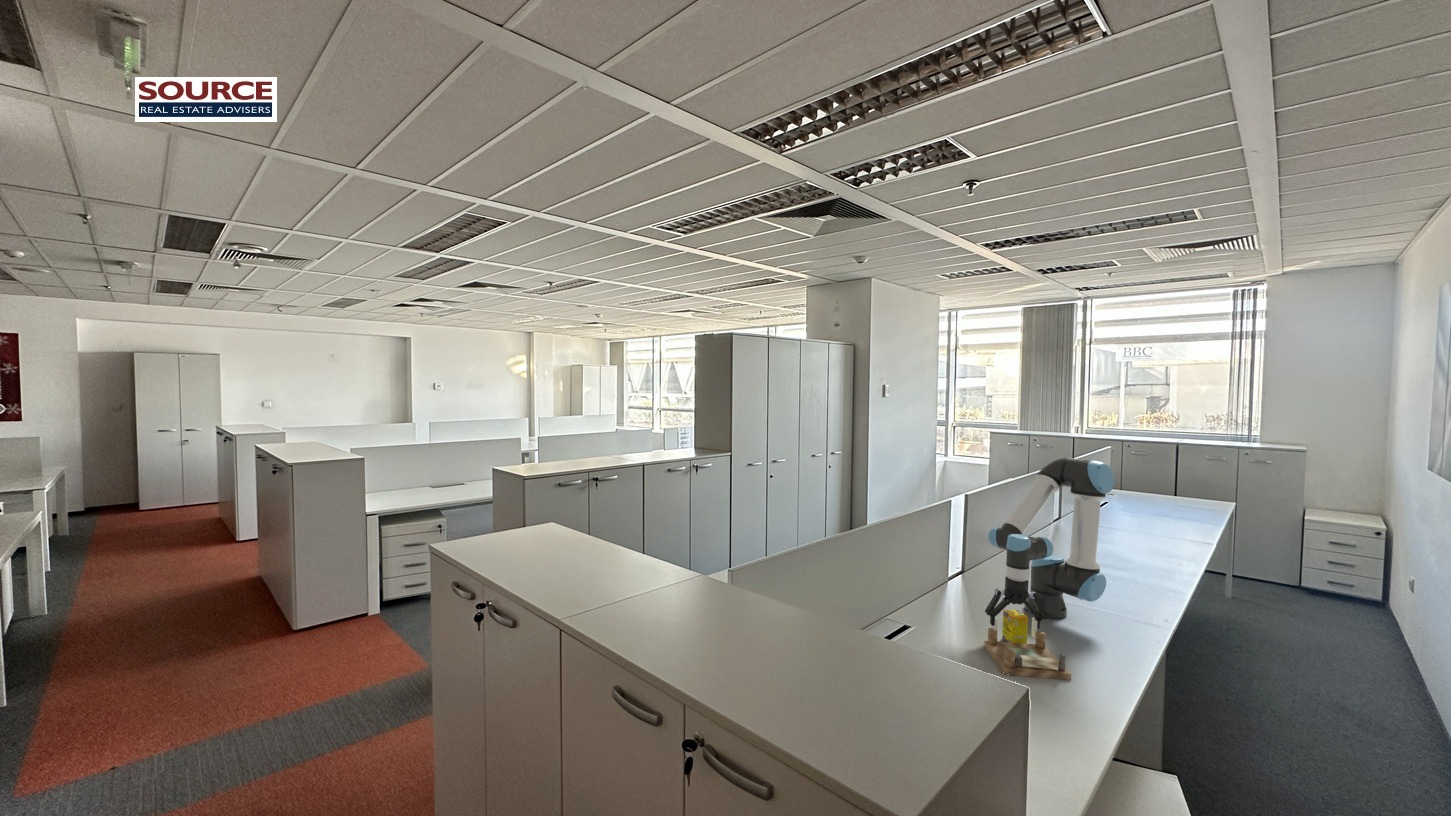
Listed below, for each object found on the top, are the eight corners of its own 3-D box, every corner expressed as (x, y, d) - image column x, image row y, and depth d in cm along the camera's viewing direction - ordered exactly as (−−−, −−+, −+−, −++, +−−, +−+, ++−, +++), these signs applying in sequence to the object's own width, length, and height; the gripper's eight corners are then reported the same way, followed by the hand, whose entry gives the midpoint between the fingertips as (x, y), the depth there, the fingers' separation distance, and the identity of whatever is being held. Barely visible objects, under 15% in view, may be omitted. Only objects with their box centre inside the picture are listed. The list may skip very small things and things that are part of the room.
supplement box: (1001, 638, 208) (1002, 609, 207) (1017, 638, 208) (1018, 609, 208) (1011, 646, 202) (1012, 616, 201) (1027, 646, 202) (1028, 616, 202)
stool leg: (1055, 666, 183) (1055, 658, 183) (1058, 670, 180) (1058, 662, 180) (1012, 661, 185) (1013, 654, 185) (1015, 665, 183) (1015, 657, 183)
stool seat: (1043, 650, 199) (1044, 630, 199) (1071, 679, 179) (1072, 658, 179) (984, 646, 202) (985, 627, 201) (1004, 674, 182) (1005, 653, 181)
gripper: (1048, 576, 206) (1045, 633, 207) (977, 572, 209) (974, 628, 210) (1058, 584, 199) (1055, 643, 200) (984, 579, 202) (981, 637, 203)
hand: (1014, 635), depth 205 cm, fingers open, 13 cm apart
